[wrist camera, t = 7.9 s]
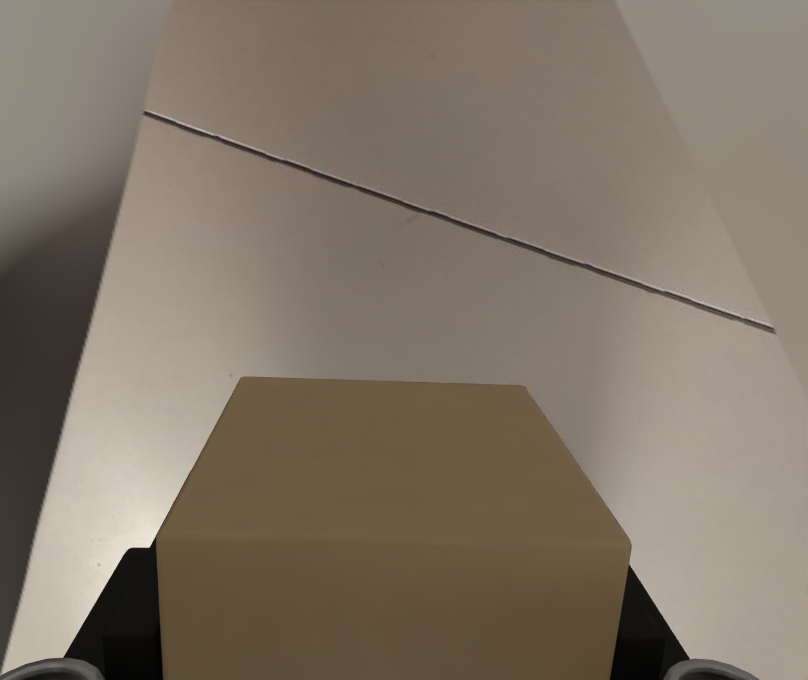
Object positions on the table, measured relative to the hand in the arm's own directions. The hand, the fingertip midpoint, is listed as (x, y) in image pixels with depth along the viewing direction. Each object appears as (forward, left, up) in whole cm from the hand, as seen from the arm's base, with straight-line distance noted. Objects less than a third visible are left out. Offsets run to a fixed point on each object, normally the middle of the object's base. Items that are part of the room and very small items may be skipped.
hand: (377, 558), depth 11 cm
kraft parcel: (0, 0, 0) cm, 0 cm away
